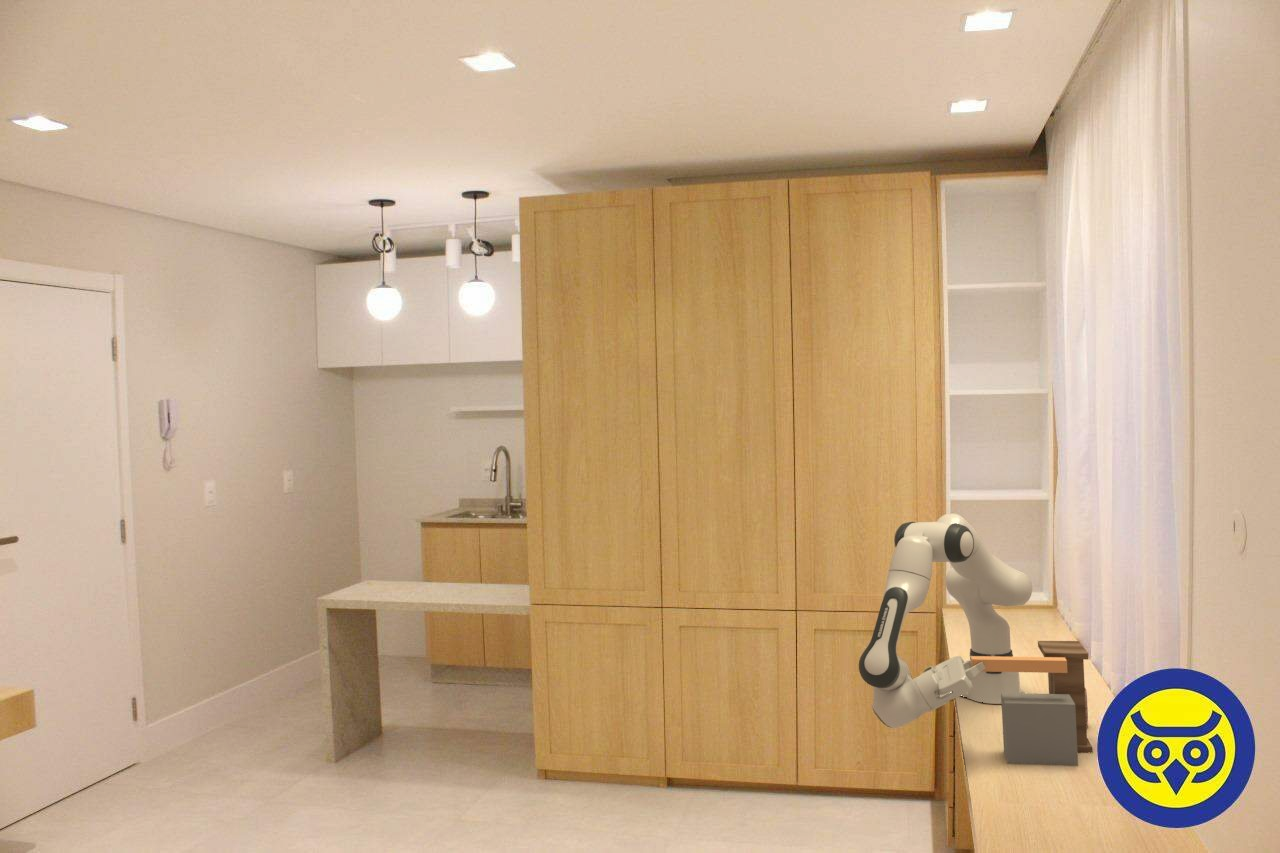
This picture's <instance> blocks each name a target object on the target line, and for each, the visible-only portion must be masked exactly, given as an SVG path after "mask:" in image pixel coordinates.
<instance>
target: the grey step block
mask: <svg viewBox="0 0 1280 853" xmlns="http://www.w3.org/2000/svg"><path fill="white" fill-rule="evenodd" d="M1001 702H1002V704H1001V718H1002V719H1001V720H1002V721H1001V722H1002V723H1001V724H1002V741H1003V742H1002V743H1003V753H1004V757H1005V759H1006V763H1007V764H1008V765H1009V764H1010V765H1037V766H1041V765H1043V766H1065V767H1066V766H1067V767H1070V766H1073V767H1079V760H1078V759H1079V758H1078V753H1079V752H1077V731H1076V709H1075V703H1074V702H1073V700H1072V698H1071V696H1070V695H1069V694H1049V693H1026V692H1025V693H1001Z"/></svg>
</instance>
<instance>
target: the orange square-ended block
mask: <svg viewBox="0 0 1280 853" xmlns="http://www.w3.org/2000/svg"><path fill="white" fill-rule="evenodd" d="M980 661H982V662H983V664H984V665H985V669H984V670H983V672H1019V673H1046V674H1048V673H1067V660H1066V659H1065V657H1044V656H1013V657H1000V656H971V668H972V667H973V666H975V664H976V663H979V662H980Z"/></svg>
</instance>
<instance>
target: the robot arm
mask: <svg viewBox="0 0 1280 853" xmlns="http://www.w3.org/2000/svg"><path fill="white" fill-rule="evenodd" d="M893 543H894V551H893V554H892V558H891V560H890V562H889V567H888V572H887V576H886V582H885V588H884V593H883V597H882V602H881V605H880V608H879V610H878V611H879V612H878V615H877V619H876V622H875V624H874V625H875V626H874V628H873V634H872V636H871V639H870V642H869V643H868V645H867V646H866V648H864V650H863V652H862V653H861V656H860V657H859V660H858V671H859V674H860V676H861V679H863V681H864V682H865V683H866V684H867V685H869V686H871V687H872V689H873V698H872V699H873V700H872V705H871V708H872V711H873V713H874V714H875V717H877V718H878V720H880V721H881V723H882V724H883V725H885V726H886V727H887V728H890V729H898V728H901V727H903V726H905V725H908V724H910V723H912V722H914V721H916V720H918V719H920V718H921V716H923V715H924V714H926V713H928V712H933V711H934V710H937V709H938V708H940V707H942V706H944V705H945V704H947V703H949V702H950V701H951V700H954V699H956V698H959V697H960V696H961V695H962V696H964V697H967V698H966V699H970V700H973V702H974V701H975V702H979V703H982V702H983V703H984V704H989V705H990V704H991V705H993V704H995V705H1002V702H1001V693H1026V692H1025V691H1024V690H1023V689H1022V688H1021V682H1020V672H983V670H984V669H985V665H984V664H983V662H982V661H980V662H979V663H976V664H975V666H973V667H972V668H971V656H1000V657H1014V654H1013V650H1012V647H1011V629H1010V628H1011V627H1010V625H1009V623H1008V621H1007V620H1006V619H1005V618H1004V617H1002V616H1001V615H999V613H998V612H997V611H996V610H995V609H994V607H993V606H1001V607H1018V606H1019V607H1020V606H1024V605H1025V604H1027V603H1028V601H1029V600H1030V599H1031V597H1032V594H1033V584H1032V580H1031V579H1030V577H1029V576H1028V574H1027V573H1025V572H1022V571H1021V570H1018V569H1016V568H1015V567H1012V566H1010V565H1009V564H1007V563H1006V562H1004V561H1003V560H1001V559H1000V558H999V557H997V556H996V555H995V554H994V553H993V552H991V551H990V550H989V548H988V547H987V545H986V544H985V543H984V542H983V540H982V539H981V537H980V536H979V534H978V533H977V531H976V529H974V527H973V526H972V525H971V524H970V523H969V522H968V521H967V519H966V518H964V517H962V515H960V514H957V513H953V512H952V513H946V514H943V515H941V516H940V517H939V518H938V519H937V520H936V521H919V522H916V521H909V522H905V523H901V525H900V526H899V527H898V528H897V529H896V531H895V533H894V542H893ZM933 563H949V564H950V565H951V567H950V569H949V571H947V574H946V577H945V587H946V590H947V592H948V594H949V595H950V596H951V597H952V598H954V600H956V602H958V604H959V605H960V607H961V609H962V610H963V612H964V614H965V616H966V619H967V622H968V625H969V633H970V647H971V648H970V649H969V659H968V660H966V661H964V659H963V658H962V656H961V655H957V656H956V655H955V656H953V657H951V658H949V659H946V660H944V661H943V662H940V663H939V664H936V665H934V667H933V666H932V665H930V666H928V667H927V668H925V670H924V671H923V672H922V673H920V675H918V676H917V677H914V678H913V677H912V674H911V671H910V668H909V665H908V664H907V663H906V661H905V660H904V659H902V658H901V657H900V656H898V650H897V648H898V643H899V639H900V635H901V632H902V628H903V627H902V626H903V624H904V620H905V618H906V616H907V615H908V614H909V613H910V612H911V611H914V610H916V609H919V608H920V607H921V606H923V604H924V602H925V600H926V598H927V595H928V593H929V589H930V585H931V578H932V575H933V574H932V573H933V572H932V571H933ZM964 697H963V698H964Z"/></svg>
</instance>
